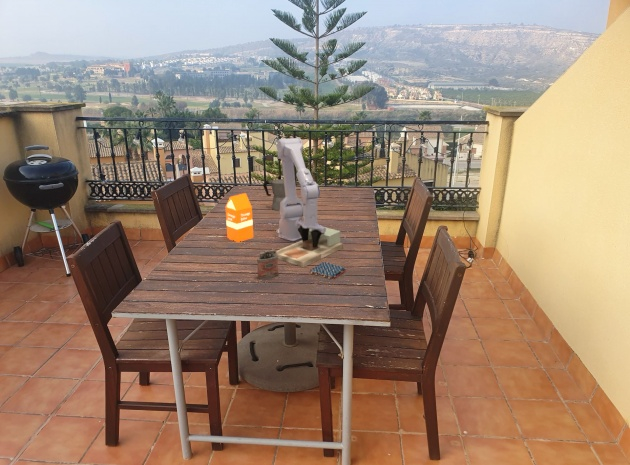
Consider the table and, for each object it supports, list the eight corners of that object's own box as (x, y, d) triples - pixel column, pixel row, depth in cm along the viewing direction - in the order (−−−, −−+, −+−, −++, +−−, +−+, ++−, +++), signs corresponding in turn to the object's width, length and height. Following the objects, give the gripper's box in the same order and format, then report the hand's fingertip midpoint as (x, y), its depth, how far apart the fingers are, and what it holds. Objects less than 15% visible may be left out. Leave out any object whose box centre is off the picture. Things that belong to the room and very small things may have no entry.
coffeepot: (290, 205, 256) (290, 173, 250) (293, 210, 247) (293, 177, 241) (263, 207, 253) (261, 174, 247) (265, 212, 244) (263, 178, 238)
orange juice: (253, 237, 208) (251, 194, 201) (237, 242, 202) (235, 198, 195) (242, 233, 213) (240, 191, 206) (227, 238, 207) (224, 195, 200)
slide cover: (305, 240, 198) (305, 228, 196) (317, 235, 204) (317, 223, 202) (328, 246, 190) (329, 234, 189) (340, 241, 196) (340, 229, 194)
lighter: (259, 280, 166) (258, 254, 163) (256, 276, 169) (255, 251, 166) (280, 275, 170) (279, 250, 166) (276, 272, 172) (275, 247, 169)
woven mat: (332, 281, 166) (333, 276, 165) (308, 274, 172) (308, 269, 171) (347, 271, 174) (347, 266, 173) (324, 265, 180) (324, 260, 179)
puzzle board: (273, 257, 186) (272, 252, 185) (313, 239, 205) (313, 234, 204) (303, 267, 177) (303, 262, 176) (342, 247, 196) (342, 243, 195)
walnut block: (302, 252, 191) (302, 242, 190) (309, 249, 195) (309, 239, 193) (311, 254, 189) (311, 244, 187) (317, 251, 192) (317, 241, 190)
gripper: (290, 212, 187) (290, 243, 192) (318, 219, 179) (318, 252, 183) (301, 208, 192) (301, 239, 197) (329, 215, 184) (328, 247, 189)
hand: (310, 245), depth 191 cm, fingers closed on walnut block, 4 cm apart
